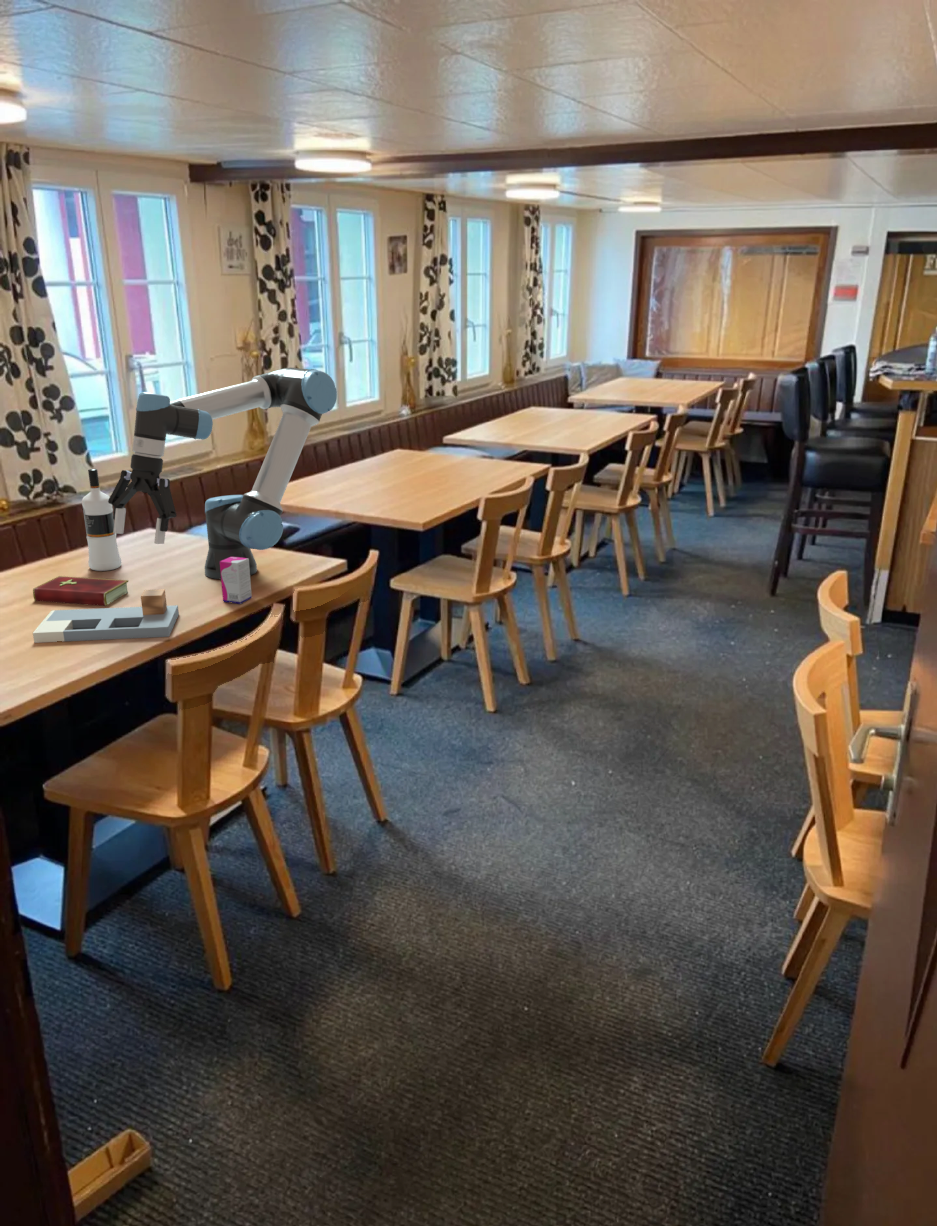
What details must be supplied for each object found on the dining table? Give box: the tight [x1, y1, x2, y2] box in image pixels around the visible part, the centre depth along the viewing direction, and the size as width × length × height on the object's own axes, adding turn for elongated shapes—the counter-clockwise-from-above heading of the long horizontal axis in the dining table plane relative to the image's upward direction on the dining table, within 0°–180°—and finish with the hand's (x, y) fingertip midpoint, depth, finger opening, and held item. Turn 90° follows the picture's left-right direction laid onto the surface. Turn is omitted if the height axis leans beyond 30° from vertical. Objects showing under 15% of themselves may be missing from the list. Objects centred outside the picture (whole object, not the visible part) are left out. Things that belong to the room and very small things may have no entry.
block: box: [140, 588, 168, 615], centre depth 221 cm, size 5×5×5 cm
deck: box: [32, 604, 180, 644], centre depth 217 cm, size 31×16×2 cm, turn 99°
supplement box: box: [220, 557, 253, 605], centre depth 236 cm, size 6×6×12 cm
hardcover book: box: [32, 575, 129, 607], centre depth 239 cm, size 12×21×4 cm, turn 81°
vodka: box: [81, 468, 123, 572], centre depth 260 cm, size 9×9×30 cm
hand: (138, 538), depth 223 cm, fingers open, 13 cm apart
